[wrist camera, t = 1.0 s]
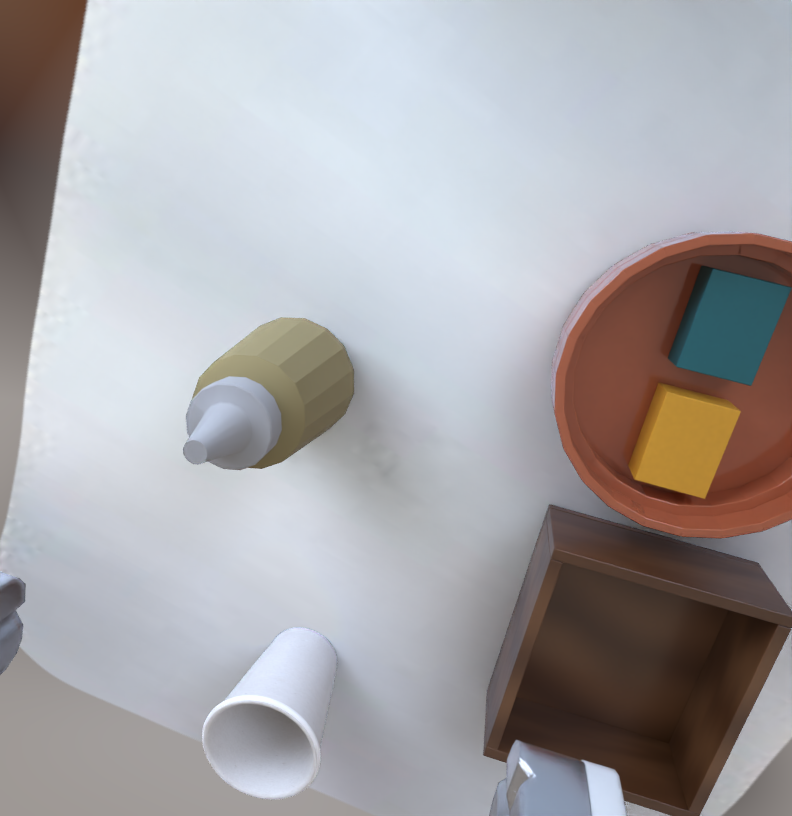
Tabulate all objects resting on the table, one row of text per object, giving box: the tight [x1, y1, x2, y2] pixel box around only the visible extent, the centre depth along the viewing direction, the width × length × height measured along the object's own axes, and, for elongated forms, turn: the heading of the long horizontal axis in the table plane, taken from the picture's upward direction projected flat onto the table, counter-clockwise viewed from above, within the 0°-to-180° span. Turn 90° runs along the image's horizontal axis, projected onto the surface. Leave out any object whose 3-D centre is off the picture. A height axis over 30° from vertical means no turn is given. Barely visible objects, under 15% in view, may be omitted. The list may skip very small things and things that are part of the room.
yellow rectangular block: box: [628, 383, 741, 499], centre depth 42 cm, size 6×4×2 cm
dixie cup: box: [202, 628, 337, 800], centre depth 49 cm, size 8×8×10 cm
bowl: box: [551, 231, 792, 538], centre depth 41 cm, size 18×18×4 cm
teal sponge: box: [668, 266, 792, 386], centre depth 40 cm, size 6×4×2 cm
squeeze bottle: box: [183, 318, 354, 470], centre depth 39 cm, size 8×8×18 cm
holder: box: [483, 505, 792, 816], centre depth 46 cm, size 17×15×7 cm
